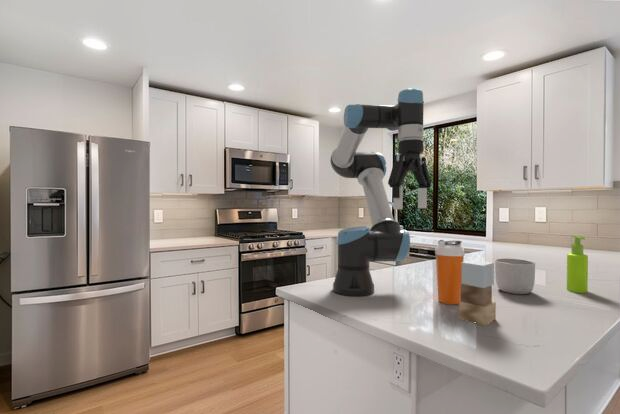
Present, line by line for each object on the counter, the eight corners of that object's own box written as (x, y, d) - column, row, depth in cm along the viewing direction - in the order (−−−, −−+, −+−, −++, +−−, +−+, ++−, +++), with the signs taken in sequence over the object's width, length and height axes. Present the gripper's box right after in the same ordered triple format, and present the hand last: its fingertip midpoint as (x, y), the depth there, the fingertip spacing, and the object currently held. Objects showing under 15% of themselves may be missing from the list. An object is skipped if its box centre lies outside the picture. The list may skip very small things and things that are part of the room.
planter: (512, 285, 128) (512, 257, 128) (543, 294, 116) (543, 263, 116) (487, 288, 124) (487, 259, 124) (517, 297, 113) (517, 265, 112)
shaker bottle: (467, 306, 104) (467, 242, 103) (437, 305, 105) (437, 242, 105) (460, 298, 112) (460, 239, 112) (432, 297, 114) (432, 238, 114)
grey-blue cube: (461, 283, 93) (461, 262, 93) (472, 280, 97) (472, 259, 97) (483, 288, 88) (483, 265, 88) (493, 284, 92) (493, 262, 92)
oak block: (459, 319, 93) (459, 301, 93) (469, 313, 98) (469, 296, 98) (485, 326, 88) (485, 307, 88) (495, 319, 93) (495, 301, 93)
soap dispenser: (570, 292, 118) (571, 236, 118) (564, 287, 124) (564, 234, 124) (591, 294, 116) (592, 237, 115) (583, 289, 122) (584, 235, 122)
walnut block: (460, 301, 93) (460, 283, 93) (469, 297, 97) (469, 280, 97) (483, 306, 89) (483, 288, 89) (491, 301, 93) (491, 284, 93)
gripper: (397, 133, 93) (397, 209, 93) (442, 143, 109) (441, 207, 109) (375, 137, 98) (376, 209, 99) (421, 146, 115) (421, 207, 115)
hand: (410, 208), depth 104 cm, fingers open, 13 cm apart
